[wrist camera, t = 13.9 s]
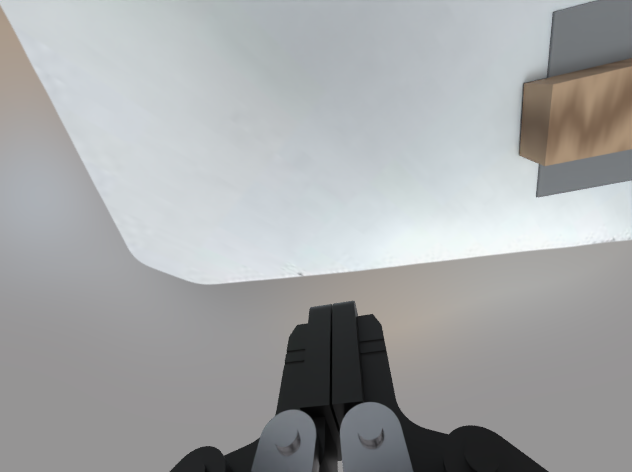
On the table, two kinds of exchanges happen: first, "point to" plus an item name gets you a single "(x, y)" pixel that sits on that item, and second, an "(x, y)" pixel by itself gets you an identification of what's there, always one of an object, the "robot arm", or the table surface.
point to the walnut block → (578, 114)
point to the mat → (578, 54)
